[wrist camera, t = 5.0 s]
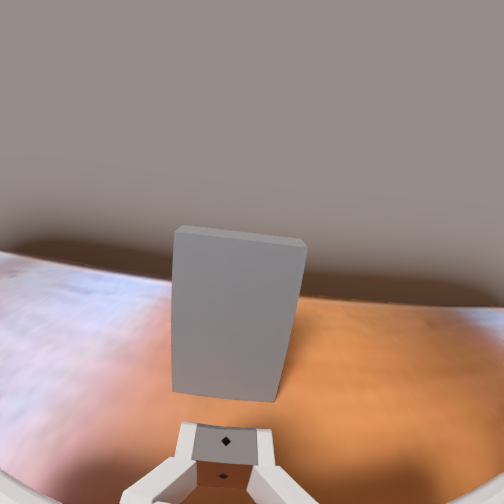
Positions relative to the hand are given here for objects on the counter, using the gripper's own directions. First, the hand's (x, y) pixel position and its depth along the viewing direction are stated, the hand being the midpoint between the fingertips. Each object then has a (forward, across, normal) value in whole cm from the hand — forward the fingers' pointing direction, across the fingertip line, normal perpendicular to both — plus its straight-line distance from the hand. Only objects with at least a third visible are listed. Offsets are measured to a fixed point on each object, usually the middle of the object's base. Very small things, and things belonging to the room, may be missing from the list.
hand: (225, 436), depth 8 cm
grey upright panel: (+9, 0, +6) cm, 11 cm away
